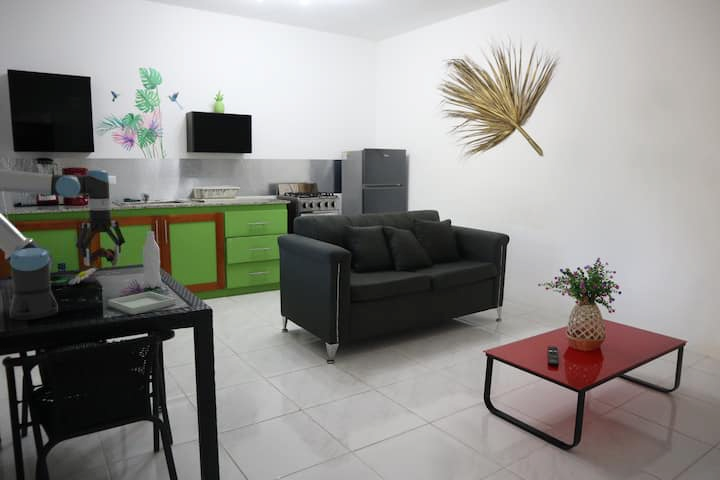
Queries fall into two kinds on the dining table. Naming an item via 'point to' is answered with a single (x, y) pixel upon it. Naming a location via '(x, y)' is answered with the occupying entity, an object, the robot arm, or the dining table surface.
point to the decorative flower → (77, 277)
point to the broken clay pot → (103, 253)
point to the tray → (141, 302)
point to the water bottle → (151, 262)
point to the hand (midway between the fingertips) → (102, 263)
